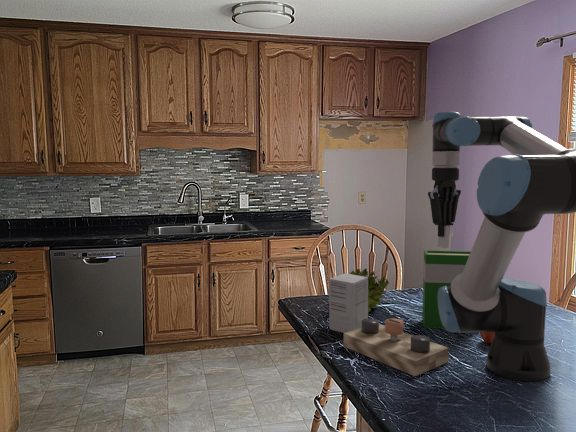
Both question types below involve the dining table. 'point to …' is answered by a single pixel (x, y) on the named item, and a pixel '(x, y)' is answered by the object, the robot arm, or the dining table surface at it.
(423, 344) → the black knob near
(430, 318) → the hardback book
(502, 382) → the dining table surface
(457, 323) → the robot arm
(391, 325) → the orange knob middle
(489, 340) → the pomegranate
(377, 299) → the green leafy plant
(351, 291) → the supplement box
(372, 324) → the black knob far
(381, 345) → the mount
